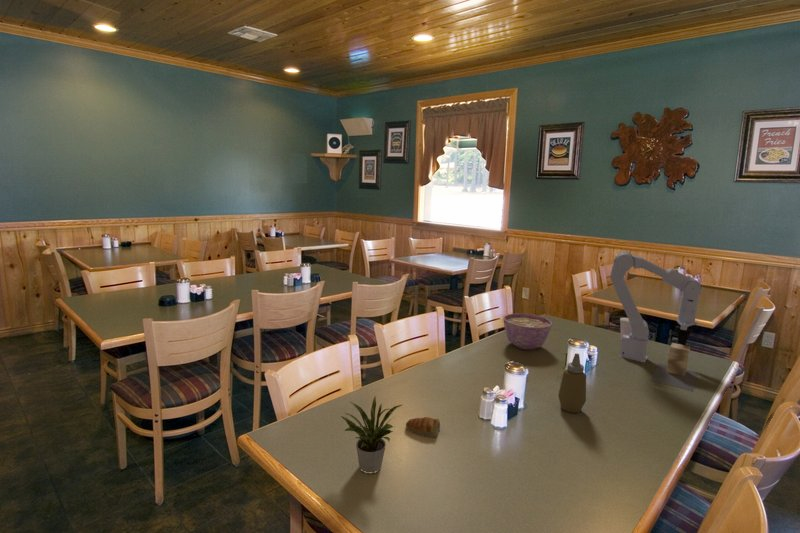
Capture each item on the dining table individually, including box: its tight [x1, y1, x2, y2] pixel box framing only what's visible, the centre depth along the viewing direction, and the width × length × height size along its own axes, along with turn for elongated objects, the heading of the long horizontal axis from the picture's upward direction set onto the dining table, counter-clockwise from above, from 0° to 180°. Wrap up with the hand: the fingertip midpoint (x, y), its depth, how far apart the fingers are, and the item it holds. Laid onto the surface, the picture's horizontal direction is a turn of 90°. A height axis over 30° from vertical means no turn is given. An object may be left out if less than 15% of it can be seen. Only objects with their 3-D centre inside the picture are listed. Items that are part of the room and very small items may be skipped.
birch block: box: [666, 342, 691, 376], centre depth 172 cm, size 6×6×10 cm
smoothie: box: [619, 317, 631, 341], centre depth 207 cm, size 6×6×14 cm
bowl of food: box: [503, 313, 553, 350], centre depth 194 cm, size 20×20×12 cm
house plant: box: [340, 395, 403, 472], centre depth 108 cm, size 14×14×16 cm
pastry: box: [405, 416, 441, 438], centre depth 126 cm, size 9×7×4 cm
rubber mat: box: [649, 362, 698, 392], centre depth 168 cm, size 13×21×1 cm, turn 144°
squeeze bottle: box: [558, 353, 587, 414], centre depth 140 cm, size 8×8×18 cm
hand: (682, 343), depth 178 cm, fingers open, 5 cm apart
